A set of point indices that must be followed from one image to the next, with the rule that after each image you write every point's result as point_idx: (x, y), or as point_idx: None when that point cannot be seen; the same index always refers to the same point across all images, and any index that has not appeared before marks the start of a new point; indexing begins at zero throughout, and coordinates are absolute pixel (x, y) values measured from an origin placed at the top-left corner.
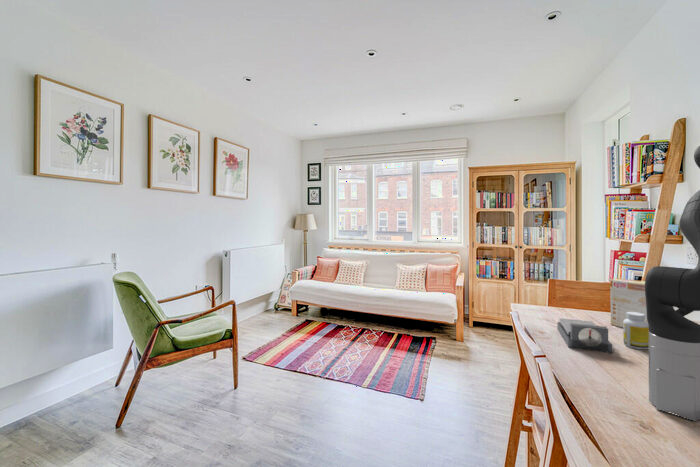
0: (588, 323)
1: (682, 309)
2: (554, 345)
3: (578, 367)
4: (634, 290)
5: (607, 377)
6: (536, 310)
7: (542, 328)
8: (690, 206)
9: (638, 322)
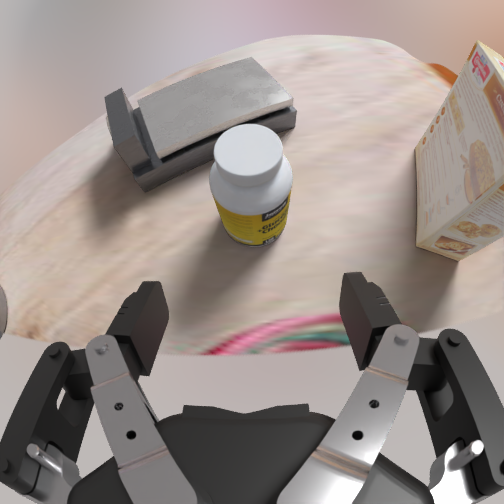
0: (258, 97)
1: (120, 314)
2: None
3: (42, 183)
4: (489, 107)
5: (26, 225)
6: (366, 43)
7: None
8: None
9: (219, 180)
